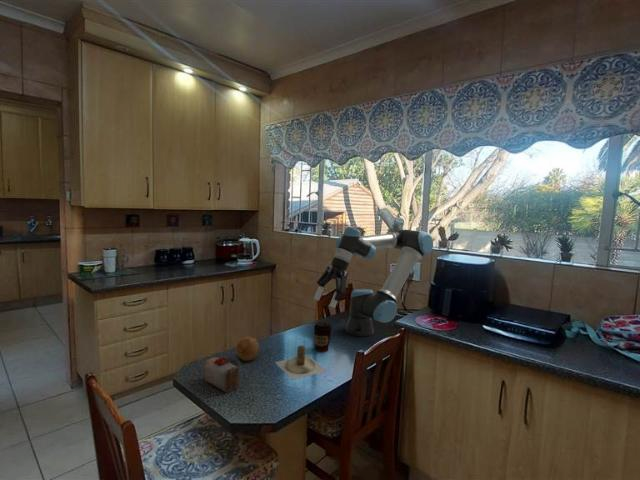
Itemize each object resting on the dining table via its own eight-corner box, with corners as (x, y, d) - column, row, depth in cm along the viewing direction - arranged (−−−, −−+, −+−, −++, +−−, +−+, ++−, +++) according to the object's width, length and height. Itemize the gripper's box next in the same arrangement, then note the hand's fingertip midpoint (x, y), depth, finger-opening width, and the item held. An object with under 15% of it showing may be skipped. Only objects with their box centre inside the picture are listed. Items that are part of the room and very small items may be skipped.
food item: (200, 381, 128) (201, 356, 127) (218, 374, 135) (219, 349, 134) (224, 395, 120) (225, 368, 119) (242, 386, 127) (243, 360, 126)
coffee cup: (328, 355, 156) (330, 327, 155) (310, 353, 158) (312, 325, 157) (332, 348, 165) (333, 321, 164) (315, 345, 166) (316, 319, 165)
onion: (239, 353, 153) (239, 332, 152) (261, 355, 153) (262, 333, 152) (232, 364, 143) (233, 340, 142) (256, 365, 143) (257, 342, 142)
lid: (306, 357, 151) (307, 339, 151) (320, 370, 141) (321, 350, 140) (281, 363, 145) (282, 344, 144) (294, 376, 135) (295, 355, 134)
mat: (307, 356, 154) (308, 355, 154) (327, 372, 141) (327, 371, 141) (274, 363, 146) (274, 362, 146) (291, 381, 132) (291, 379, 132)
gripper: (321, 253, 167) (304, 294, 164) (351, 260, 146) (332, 307, 143) (332, 259, 171) (316, 299, 168) (364, 266, 150) (345, 313, 147)
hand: (323, 303), depth 155 cm, fingers open, 13 cm apart
